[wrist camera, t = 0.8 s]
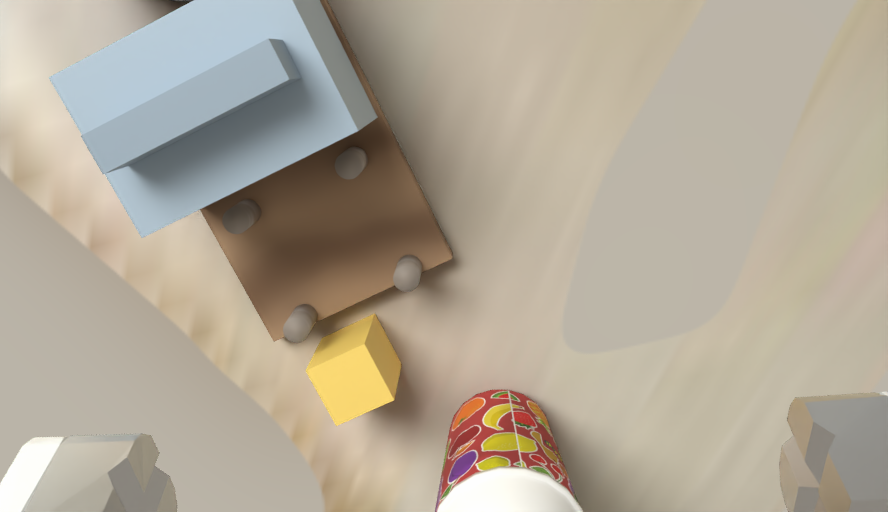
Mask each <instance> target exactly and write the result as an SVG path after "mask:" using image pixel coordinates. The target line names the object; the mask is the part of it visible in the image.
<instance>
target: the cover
mask: <svg viewBox="0 0 888 512" xmlns="http://www.w3.org/2000/svg"><path fill="white" fill-rule="evenodd" d="M49 79H50V81H51V82H52V84H53V86H54V87H55V89H56V91H57V93H58V94H59V96H60V98H61V99H62V101H63V103H64V105H65V106H66V108H67V110H68V112H69V113H70V115H71V117H72V118H73V120H74V122H75V124H76V125H77V127H78V129H79V131H80V132H81V134H82V135H81V137H82V139H83V141H84V142H85V144H86V146H87V148H88V149H89V151H90V153H91V154H92V156H93V158H94V160H95V161H96V163H97V165H98V166H99V168H100V170H101V172H102V173H103V174H105V175H106V177H107V179H108V181H109V182H110V184H111V186H112V187H113V189H114V191H115V193H116V194H117V196H118V198H119V200H120V201H121V203H122V205H123V206H124V208H125V210H126V212H127V213H128V215H129V217H130V218H131V220H132V222H133V224H134V225H135V227H136V229H137V231H138V232H139V234H140V236H141V237H142V238H143V237H145V236H147V235H149V234H151V233H153V232H155V231H157V230H159V229H161V228H163V227H165V226H167V225H169V224H171V223H173V222H175V221H177V220H179V219H181V218H183V217H185V216H187V215H189V214H191V213H193V212H196V211H198V210H200V209H202V208H204V207H206V206H208V205H210V204H212V203H214V202H216V201H218V200H220V199H222V198H224V197H226V196H228V195H230V194H232V193H234V192H236V191H238V190H240V189H242V188H244V187H246V186H248V185H250V184H252V183H254V182H256V181H258V180H260V179H262V178H264V177H266V176H268V175H270V174H272V173H274V172H276V171H278V170H280V169H282V168H284V167H286V166H288V165H290V164H292V163H295V162H297V161H299V160H301V159H303V158H305V157H307V156H309V155H311V154H313V153H315V152H317V151H319V150H321V149H323V148H325V147H327V146H329V145H331V144H333V143H335V142H337V141H339V140H341V139H343V138H345V137H347V136H349V135H351V134H353V133H355V132H357V131H359V130H360V129H362V128H363V127H365V126H366V125H368V124H369V123H370V122H372V121H373V120H375V119H376V118H378V117H377V115H376V113H375V111H374V109H373V107H372V105H371V103H370V101H369V98H368V96H367V94H366V92H365V90H364V88H363V86H362V84H361V82H360V80H359V78H358V76H357V74H356V72H355V70H354V68H353V66H352V64H351V62H350V60H349V58H348V56H347V54H346V52H345V50H344V48H343V46H342V44H341V42H340V40H339V38H338V36H337V34H336V32H335V30H334V28H333V26H332V24H331V22H330V20H329V18H328V16H327V14H326V12H325V10H324V8H323V6H322V4H321V2H320V0H193V1H192V2H190V3H188V4H186V5H184V6H182V7H180V8H178V9H176V10H175V11H173V12H171V13H169V14H167V15H165V16H163V17H161V18H160V19H158V20H156V21H154V22H152V23H150V24H148V25H146V26H145V27H143V28H141V29H139V30H137V31H135V32H133V33H131V34H129V35H128V36H126V37H124V38H122V39H120V40H118V41H116V42H114V43H113V44H111V45H109V46H107V47H105V48H103V49H101V50H99V51H98V52H96V53H94V54H92V55H90V56H88V57H86V58H84V59H82V60H81V61H79V62H77V63H75V64H73V65H71V66H69V67H67V68H66V69H64V70H62V71H60V72H58V73H56V74H54V75H52V76H51V77H49Z"/></svg>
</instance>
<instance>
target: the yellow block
mask: <svg viewBox="0 0 888 512" xmlns="http://www.w3.org/2000/svg"><path fill="white" fill-rule="evenodd" d="M401 365H402V364H401V362H400V360H399V358H398V357H397V355H396V353H395V351H394V349H393V347H392V345H391V343H390V341H389V339H388V338H387V336H386V334H385V332H384V330H383V328H382V326H381V324H380V322H379V320H378V319H377V317H376V315H375V314H373V315H371V316H368V317H366V318H364V319H362V320H360V321H358V322H355V323H353V324H351V325H349V326H347V327H345V328H343V329H340V330H338V331H336V332H334V333H332V334H330V335H327V336H325V337H323V338H322V339H321V341H320V343H319V345H318V347H317V349H316V351H315V353H314V355H313V357H312V359H311V361H310V363H309V365H308V367H307V369H306V372H307V374H308V376H309V378H310V380H311V381H312V383H313V385H314V387H315V389H316V391H317V392H318V394H319V396H320V398H321V400H322V401H323V403H324V405H325V407H326V409H327V410H328V412H329V414H330V416H331V418H332V419H333V421H334V423H335V425H336V426H338V425H340V424H342V423H344V422H347V421H349V420H351V419H353V418H356V417H358V416H360V415H362V414H364V413H367V412H369V411H371V410H373V409H376V408H378V407H380V406H382V405H385V404H387V403H389V402H391V401H394V400H395V395H396V390H397V385H398V380H399V375H400V370H401Z"/></svg>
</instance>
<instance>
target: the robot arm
mask: <svg viewBox="0 0 888 512" xmlns="http://www.w3.org/2000/svg"><path fill="white" fill-rule="evenodd" d="M787 421H788V424H789V426H790V428H791V431H792V433H793V436H792V437H791V438H790V439H789V440H788V441H786V442H785V443H784V444H783V445H782V449H781V456H780V462H779V469H780V483H781V489H782V493H783V497H784V501H785V505H786V507H787V510H788V512H888V392H880V393H875V392H874V393H858V394H842V395H827V396H811V397H796V398H795V399H794V400H793V402H792V403H791V405H790V408H789V413H788V417H787ZM158 456H159V451H158V449H157V447H156V445H155V443H154V440H153V438H152V436H151V435H146V434H116V435H115V434H114V435H78V436H69V437H34V438H33V439H31V440H30V441H28V442H27V443H26V444H24V445H23V446H22V448H21V449H20V451H19V453H18V454H17V456H16V458H15V460H14V461H13V463H12V464H11V466H10V468H9V470H8V471H7V473H6V475H5V476H4V478H3V480H2V481H1V483H0V512H177V500H176V494H175V488H174V486H173V483H172V481H171V479H170V476H169V475H167V474H166V473H164V472H163V471H161V470H160V469H158V468H157V467H155V463H156V461H157V458H158Z"/></svg>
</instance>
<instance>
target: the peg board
mask: <svg viewBox="0 0 888 512" xmlns="http://www.w3.org/2000/svg"><path fill="white" fill-rule="evenodd" d="M320 2H321V4H322V6H323V8H324V10H325V12H326V14H327V16H328V18H329V20H330V22H331V24H332V26H333V28H334V30H335V32H336V34H337V36H338V38H339V40H340V42H341V44H342V46H343V48H344V50H345V52H346V54H347V56H348V58H349V60H350V62H351V64H352V66H353V68H354V70H355V72H356V74H357V76H358V78H359V80H360V82H361V84H362V86H363V88H364V90H365V92H366V94H367V96H368V98H369V101H370V103H371V105H372V107H373V109H374V111H375V113H376V115H377V117H378V118H376V119H375V120H373V121H372V122H370V123H369V124H368V125H366V126H365V127H363V128H362V129H360V130H359V131H357V132H355V133H353V134H351V135H349V136H347V137H345V138H343V139H341V140H339V141H337V142H335V143H333V144H331V145H329V146H327V147H325V148H323V149H321V150H319V151H317V152H315V153H313V154H311V155H309V156H307V157H305V158H303V159H301V160H299V161H297V162H295V163H292V164H290V165H288V166H286V167H284V168H282V169H280V170H278V171H276V172H274V173H272V174H270V175H268V176H266V177H264V178H262V179H260V180H258V181H256V182H254V183H252V184H250V185H248V186H246V187H244V188H242V189H240V190H238V191H236V192H234V193H232V194H230V195H228V196H226V197H224V198H222V199H220V200H218V201H216V202H214V203H212V204H210V205H208V206H206V207H204V208H202V209H200V210H201V212H202V214H203V216H204V217H205V219H206V221H207V223H208V225H209V226H210V228H211V230H212V232H213V234H214V235H215V237H216V239H217V241H218V242H219V244H220V246H221V248H222V250H223V251H224V253H225V255H226V257H227V259H228V260H229V262H230V264H231V266H232V267H233V269H234V271H235V273H236V275H237V276H238V278H239V280H240V282H241V284H242V285H243V287H244V289H245V291H246V293H247V294H248V296H249V298H250V300H251V301H252V303H253V305H254V307H255V309H256V310H257V312H258V314H259V316H260V318H261V319H262V321H263V323H264V325H265V326H266V328H267V330H268V332H269V334H270V335H271V337H272V339H273V341H277V340H279V339H281V338H283V337H286V338H287V339H288V340H289V341H291V342H294V343H299V342H302V341H304V340H305V339H306V338H307V337H308V335H309V333H310V331H311V329H312V328H313V326H314V324H315V322H317V321H319V320H322V319H324V318H326V317H328V316H330V315H332V314H335V313H337V312H339V311H341V310H343V309H345V308H347V307H350V306H352V305H354V304H356V303H358V302H360V301H362V300H365V299H367V298H369V297H371V296H373V295H375V294H377V293H380V292H382V291H384V290H386V289H388V288H390V287H392V286H396V287H397V288H398V289H399V290H401V291H404V292H409V291H412V290H414V289H415V288H416V287H417V286H418V284H419V281H420V276H421V273H423V272H425V271H427V270H429V269H431V268H433V267H435V266H438V265H440V264H442V263H444V262H446V261H448V260H450V259H452V255H453V253H452V251H451V249H450V247H449V245H448V243H447V241H446V239H445V237H444V235H443V233H442V231H441V229H440V227H439V225H438V223H437V221H436V219H435V217H434V215H433V213H432V211H431V209H430V206H429V204H428V202H427V200H426V198H425V196H424V194H423V192H422V190H421V188H420V186H419V184H418V182H417V180H416V178H415V176H414V174H413V172H412V170H411V168H410V166H409V164H408V162H407V160H406V158H405V156H404V154H403V152H402V150H401V148H400V146H399V144H398V142H397V140H396V138H395V136H394V134H393V132H392V130H391V128H390V126H389V124H388V122H387V120H386V118H385V116H384V114H383V112H382V110H381V108H380V106H379V104H378V102H377V100H376V98H375V96H374V94H373V91H372V89H371V87H370V85H369V83H368V81H367V79H366V77H365V75H364V73H363V71H362V69H361V67H360V65H359V63H358V61H357V59H356V57H355V55H354V53H353V51H352V49H351V47H350V45H349V43H348V41H347V39H346V37H345V35H344V33H343V31H342V29H341V27H340V25H339V23H338V21H337V19H336V17H335V15H334V13H333V11H332V9H331V7H330V5H329V3H328V1H327V0H320Z"/></svg>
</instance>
